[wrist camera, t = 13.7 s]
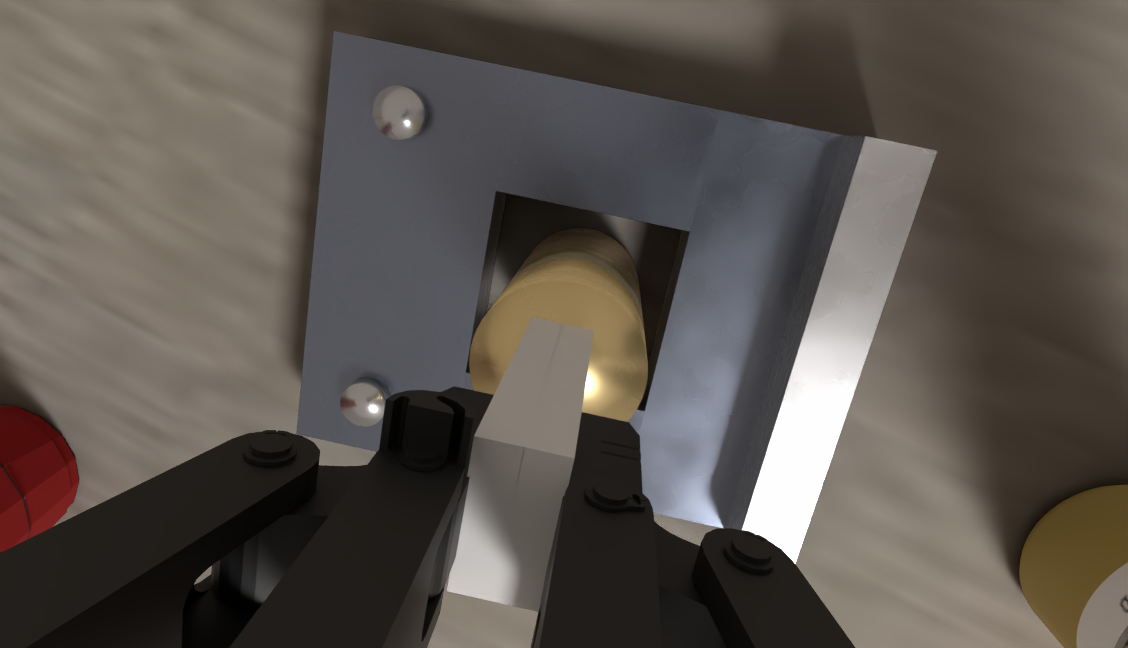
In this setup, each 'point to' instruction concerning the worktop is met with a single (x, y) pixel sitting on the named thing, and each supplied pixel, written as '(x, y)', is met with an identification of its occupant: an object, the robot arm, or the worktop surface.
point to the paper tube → (1081, 569)
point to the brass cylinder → (573, 317)
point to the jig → (625, 189)
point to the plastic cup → (32, 476)
